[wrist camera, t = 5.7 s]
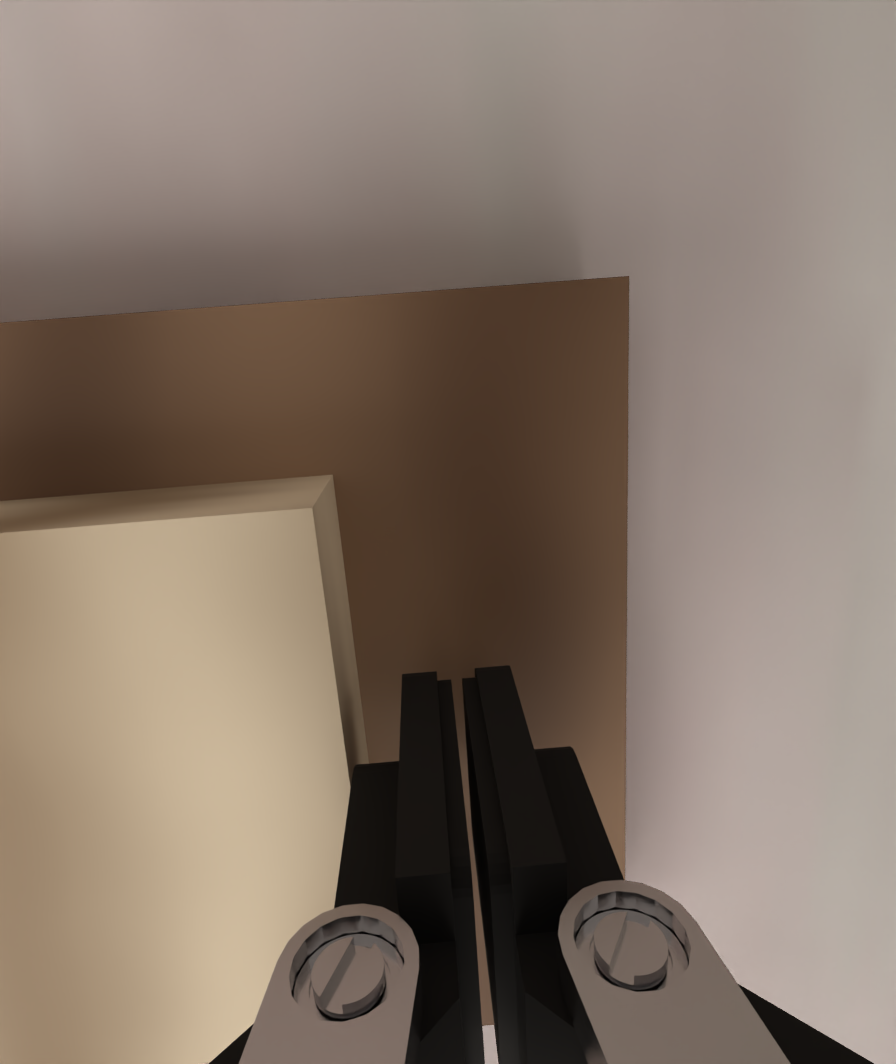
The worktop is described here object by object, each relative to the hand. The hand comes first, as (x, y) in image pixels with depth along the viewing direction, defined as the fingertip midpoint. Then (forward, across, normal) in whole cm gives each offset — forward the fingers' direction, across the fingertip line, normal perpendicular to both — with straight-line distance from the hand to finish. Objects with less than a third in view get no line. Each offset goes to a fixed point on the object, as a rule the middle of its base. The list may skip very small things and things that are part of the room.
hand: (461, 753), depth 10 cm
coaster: (+1, +6, 0) cm, 6 cm away
